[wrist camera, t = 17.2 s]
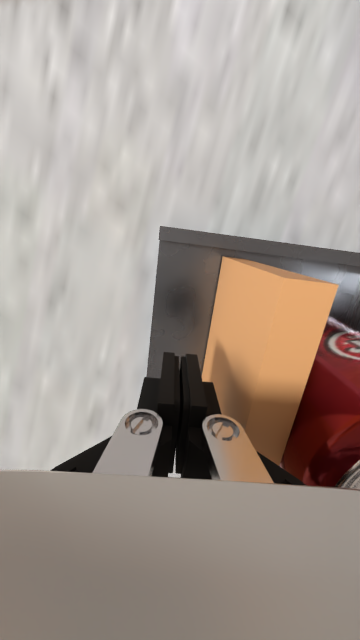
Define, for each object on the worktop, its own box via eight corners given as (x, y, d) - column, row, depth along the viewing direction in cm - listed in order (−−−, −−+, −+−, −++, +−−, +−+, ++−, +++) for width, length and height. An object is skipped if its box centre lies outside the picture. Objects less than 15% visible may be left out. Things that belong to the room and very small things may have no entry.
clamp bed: (145, 396, 21) (113, 558, 11) (162, 227, 17) (137, 206, 6) (321, 414, 22) (460, 581, 11) (378, 257, 18) (690, 283, 7)
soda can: (290, 276, 17) (525, 352, 5) (342, 348, 19) (604, 520, 7) (208, 341, 18) (260, 508, 7) (264, 402, 20) (380, 616, 9)
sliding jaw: (197, 401, 20) (215, 545, 10) (222, 256, 16) (284, 277, 7) (216, 403, 20) (252, 548, 10) (246, 259, 16) (338, 284, 7)
